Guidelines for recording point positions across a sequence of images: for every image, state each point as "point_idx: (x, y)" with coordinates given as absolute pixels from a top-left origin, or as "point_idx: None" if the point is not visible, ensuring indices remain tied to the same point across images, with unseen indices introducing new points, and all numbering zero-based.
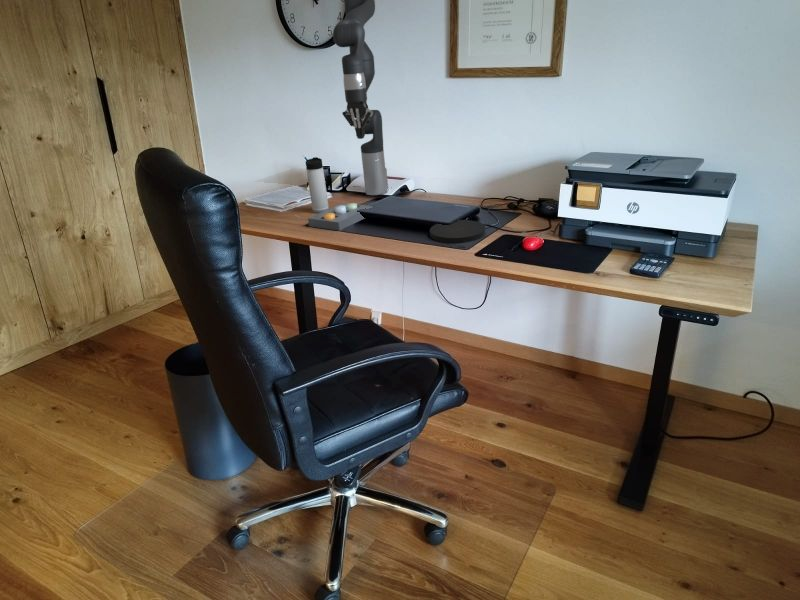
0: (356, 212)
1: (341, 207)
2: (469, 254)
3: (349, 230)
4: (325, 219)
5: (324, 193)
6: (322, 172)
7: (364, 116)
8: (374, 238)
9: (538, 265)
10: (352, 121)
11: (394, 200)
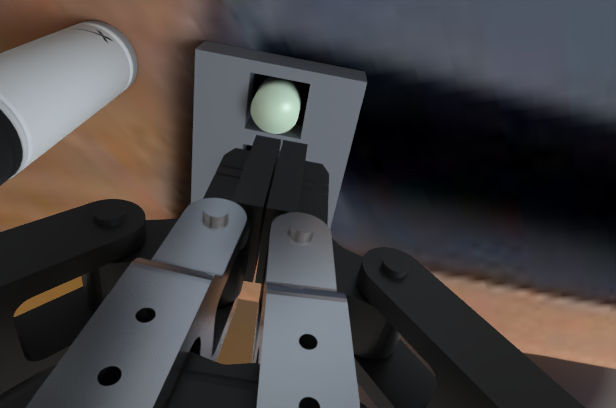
0: (333, 169)
1: None
2: None
3: (352, 242)
4: None
5: (101, 90)
6: (37, 122)
7: (346, 362)
8: (456, 286)
9: None
10: (37, 251)
11: None
